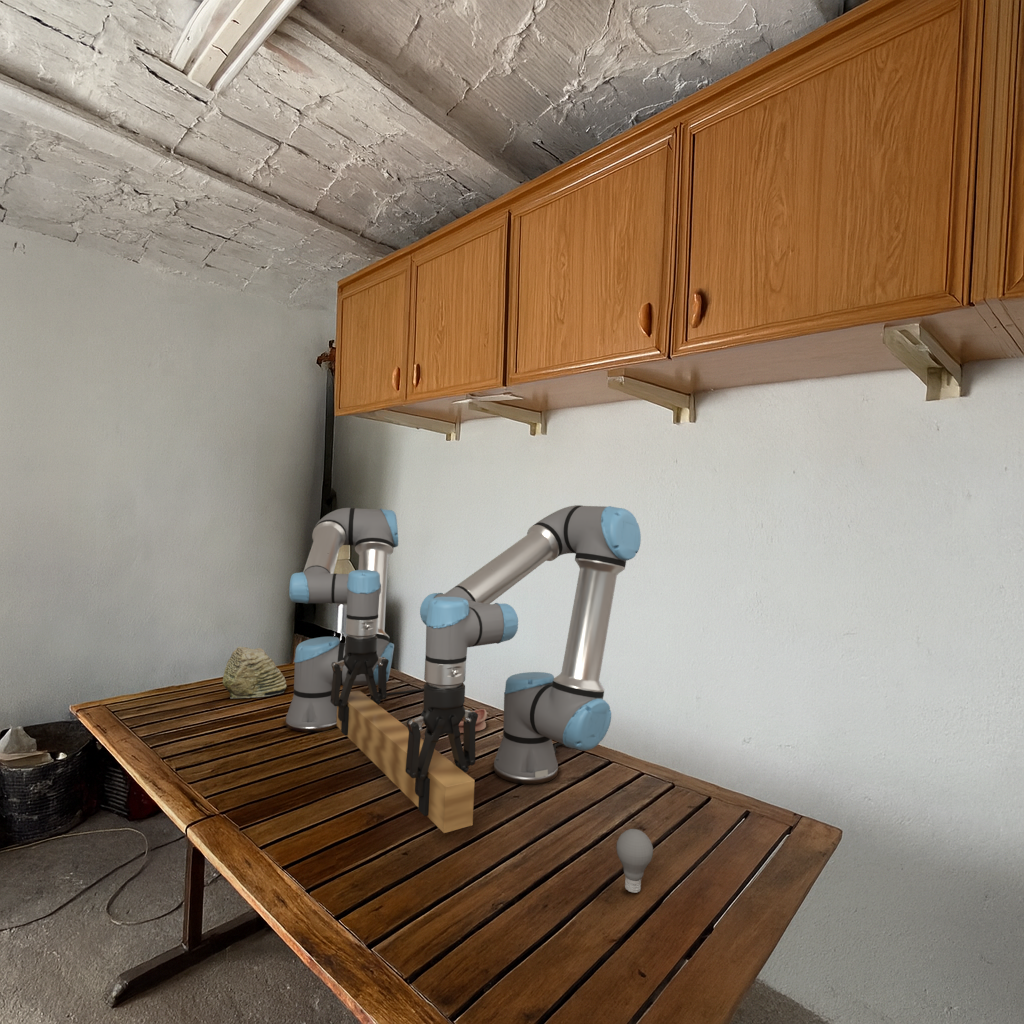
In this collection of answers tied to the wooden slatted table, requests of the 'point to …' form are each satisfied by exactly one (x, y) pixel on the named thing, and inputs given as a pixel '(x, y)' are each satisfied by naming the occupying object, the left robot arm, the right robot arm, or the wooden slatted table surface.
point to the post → (388, 752)
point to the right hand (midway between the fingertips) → (439, 808)
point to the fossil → (252, 674)
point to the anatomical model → (479, 723)
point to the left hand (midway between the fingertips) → (357, 730)
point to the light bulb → (634, 857)
